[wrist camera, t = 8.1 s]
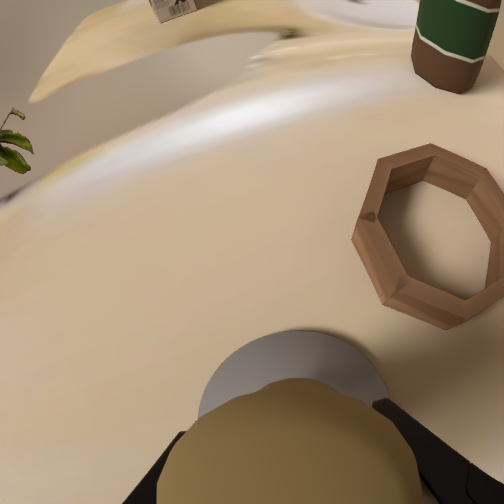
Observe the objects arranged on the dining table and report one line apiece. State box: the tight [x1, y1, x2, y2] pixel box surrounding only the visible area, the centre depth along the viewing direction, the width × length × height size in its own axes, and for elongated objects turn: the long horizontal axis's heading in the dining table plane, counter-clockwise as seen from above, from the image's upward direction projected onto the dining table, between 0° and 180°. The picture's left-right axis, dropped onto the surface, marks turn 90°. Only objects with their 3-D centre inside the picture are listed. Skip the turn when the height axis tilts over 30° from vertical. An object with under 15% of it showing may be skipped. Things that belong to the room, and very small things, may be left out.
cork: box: [157, 378, 422, 504], centre depth 8 cm, size 6×6×11 cm
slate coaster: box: [198, 331, 390, 419], centre depth 16 cm, size 11×11×1 cm
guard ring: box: [351, 143, 504, 330], centre depth 18 cm, size 11×11×3 cm
